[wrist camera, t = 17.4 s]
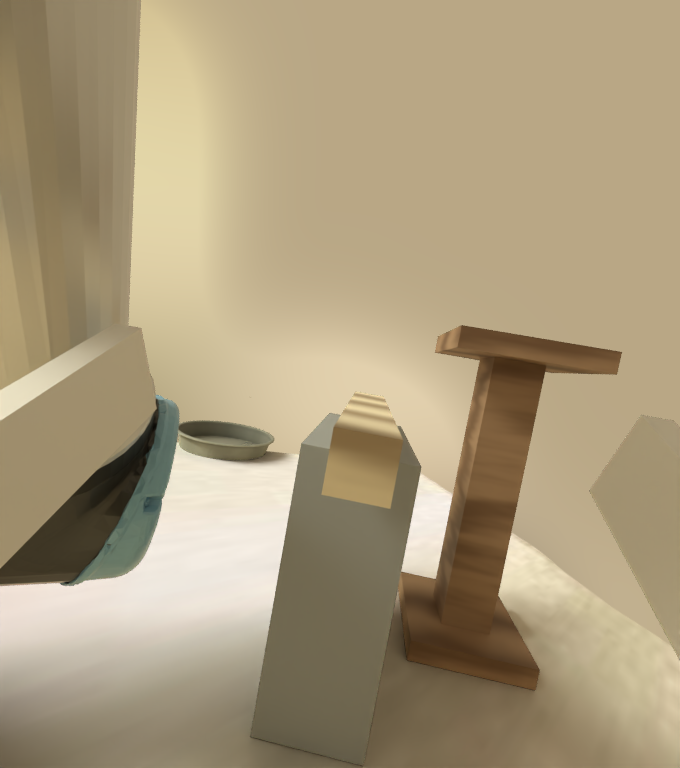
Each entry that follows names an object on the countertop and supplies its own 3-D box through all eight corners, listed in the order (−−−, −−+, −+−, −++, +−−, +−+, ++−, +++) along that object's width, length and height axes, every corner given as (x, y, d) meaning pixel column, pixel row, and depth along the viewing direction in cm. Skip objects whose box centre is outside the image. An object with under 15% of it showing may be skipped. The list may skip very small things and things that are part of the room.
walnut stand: (546, 692, 35) (621, 352, 33) (396, 657, 36) (461, 325, 34) (501, 609, 47) (554, 356, 45) (390, 585, 48) (438, 336, 46)
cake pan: (209, 469, 79) (213, 448, 79) (153, 438, 94) (155, 421, 94) (291, 457, 99) (293, 441, 99) (233, 434, 114) (236, 419, 113)
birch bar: (390, 508, 16) (403, 440, 16) (321, 494, 16) (333, 426, 16) (378, 424, 40) (383, 396, 40) (350, 418, 40) (355, 391, 40)
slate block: (363, 766, 26) (421, 466, 24) (250, 736, 26) (301, 443, 25) (366, 607, 42) (400, 426, 41) (297, 591, 43) (329, 412, 42)
